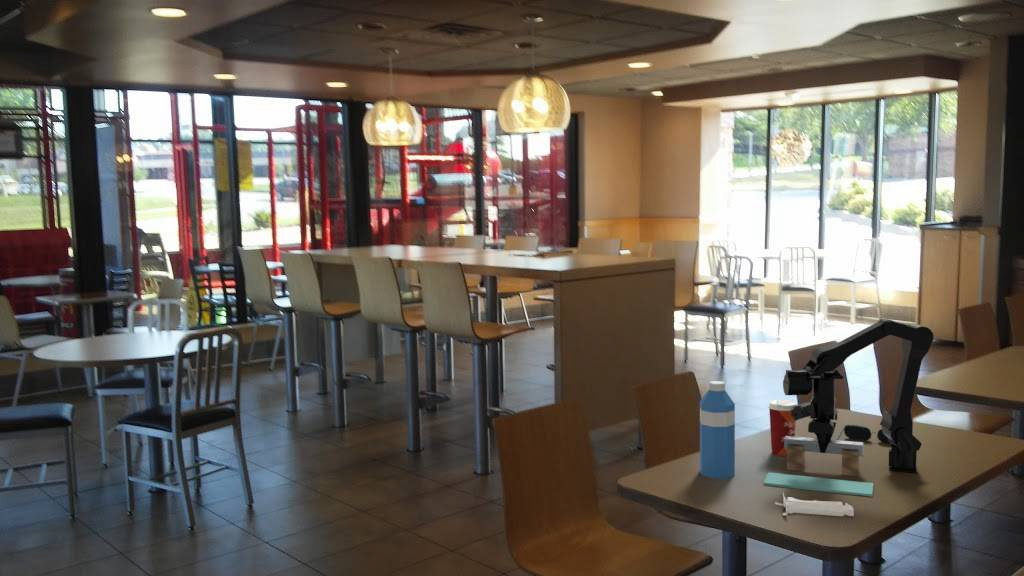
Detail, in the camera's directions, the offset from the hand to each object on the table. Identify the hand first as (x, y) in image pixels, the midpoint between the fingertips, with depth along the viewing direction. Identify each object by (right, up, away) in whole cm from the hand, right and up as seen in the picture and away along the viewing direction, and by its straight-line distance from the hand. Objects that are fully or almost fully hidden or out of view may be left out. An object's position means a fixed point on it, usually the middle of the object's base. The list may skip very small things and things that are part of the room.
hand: (823, 451), depth 236 cm
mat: (-6, -7, -12) cm, 15 cm away
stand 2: (+6, -5, -2) cm, 9 cm away
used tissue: (-14, -9, -32) cm, 36 cm away
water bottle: (-29, -6, -1) cm, 30 cm away
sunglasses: (+21, -3, +20) cm, 29 cm away
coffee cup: (-6, -4, +16) cm, 18 cm away
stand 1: (-6, -5, +3) cm, 9 cm away
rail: (0, 0, 0) cm, 0 cm away
